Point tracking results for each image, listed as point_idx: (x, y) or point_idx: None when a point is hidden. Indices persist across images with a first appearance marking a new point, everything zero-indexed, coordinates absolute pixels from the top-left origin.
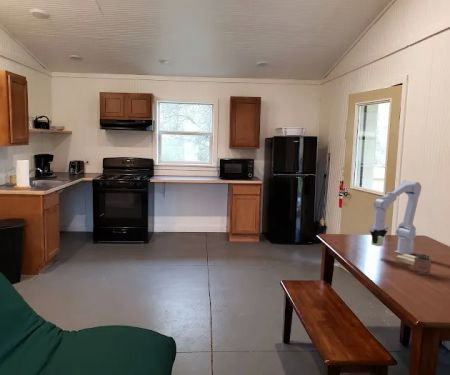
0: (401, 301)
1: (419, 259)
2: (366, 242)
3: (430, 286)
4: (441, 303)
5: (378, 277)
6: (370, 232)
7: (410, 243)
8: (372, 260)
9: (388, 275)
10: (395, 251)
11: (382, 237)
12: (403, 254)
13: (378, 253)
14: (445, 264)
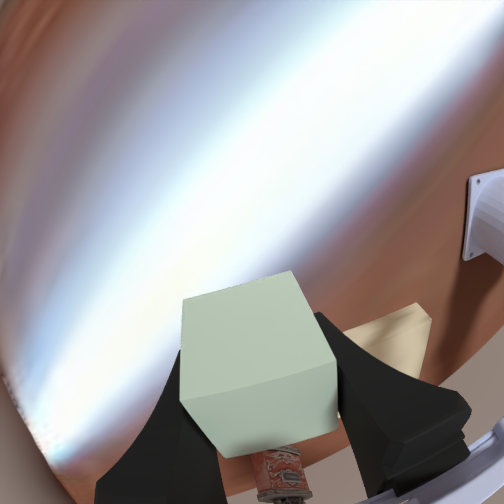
0: (79, 496)
1: (265, 501)
2: None
3: None
4: None
5: (69, 452)
6: (107, 478)
7: None
8: (132, 333)
9: (112, 455)
10: (470, 191)
11: (306, 437)
12: (403, 333)
13: (330, 179)
14: (458, 368)
